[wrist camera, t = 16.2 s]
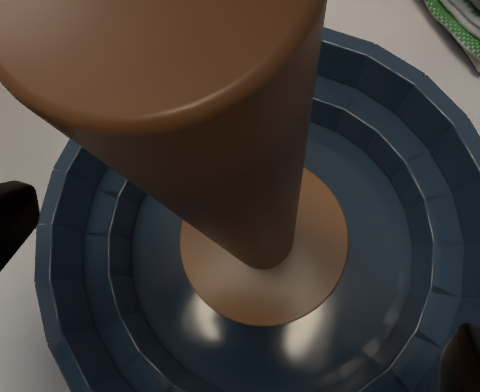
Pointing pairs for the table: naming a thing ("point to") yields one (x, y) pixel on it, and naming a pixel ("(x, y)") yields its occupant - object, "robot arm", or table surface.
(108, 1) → the wooden knob stand
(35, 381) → the table surface
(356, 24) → the table surface
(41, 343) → the table surface
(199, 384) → the bowl
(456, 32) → the dish towel
